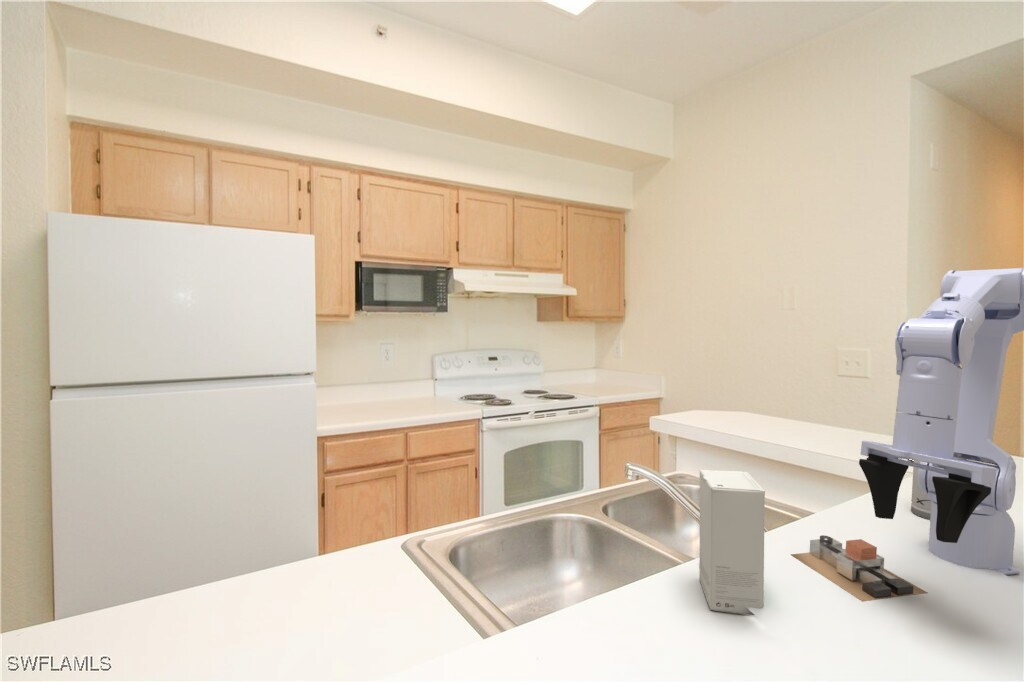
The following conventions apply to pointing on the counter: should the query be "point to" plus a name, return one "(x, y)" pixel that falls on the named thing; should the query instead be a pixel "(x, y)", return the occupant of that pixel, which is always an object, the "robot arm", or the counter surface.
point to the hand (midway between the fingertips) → (913, 529)
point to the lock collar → (858, 558)
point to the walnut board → (844, 582)
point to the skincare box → (731, 541)
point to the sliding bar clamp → (861, 570)
